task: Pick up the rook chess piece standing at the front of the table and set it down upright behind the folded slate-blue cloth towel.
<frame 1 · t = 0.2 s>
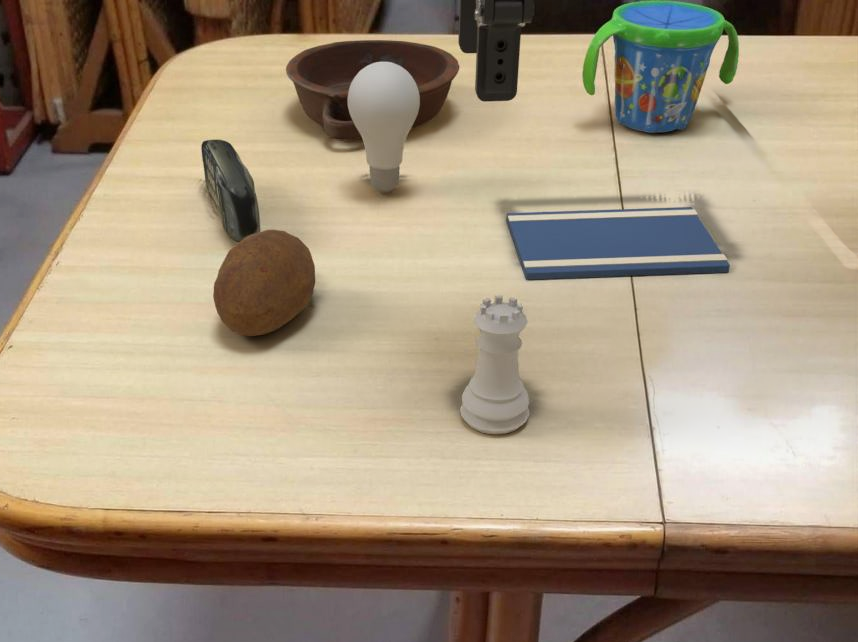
hand: (485, 73, 62), 19 cm above the table, tool pointing down, fingers open, 8 cm apart
lightbulb: (384, 194, 96), on the table
towel: (612, 244, 87), on the table
dish: (373, 115, 111), on the table
snack cup: (652, 124, 108), on the table
rook chess piece: (494, 420, 69), on the table
potato: (266, 321, 79), on the table
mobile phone: (236, 223, 91), on the table
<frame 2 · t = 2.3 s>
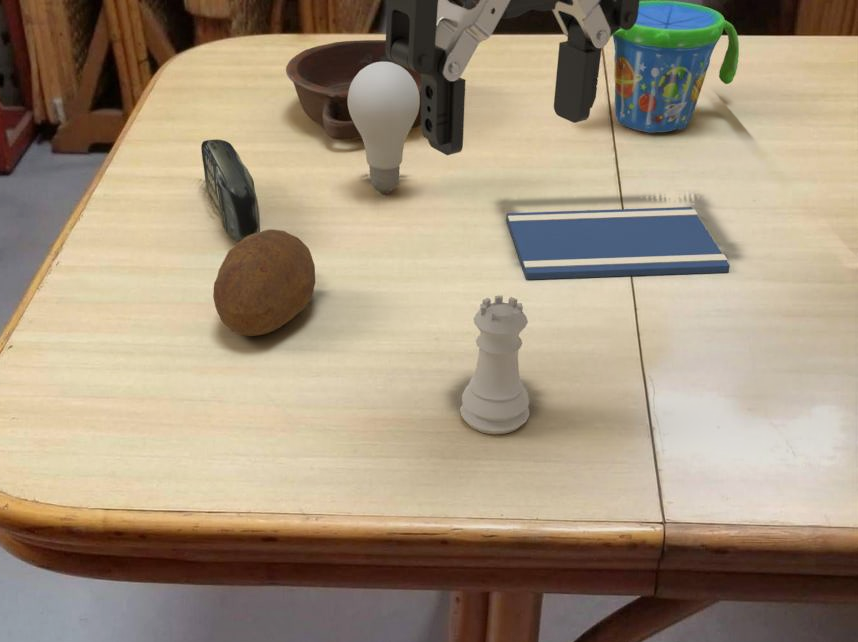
hand: (509, 133, 57), 18 cm above the table, tool pointing down, fingers open, 8 cm apart
nothing on the table moved.
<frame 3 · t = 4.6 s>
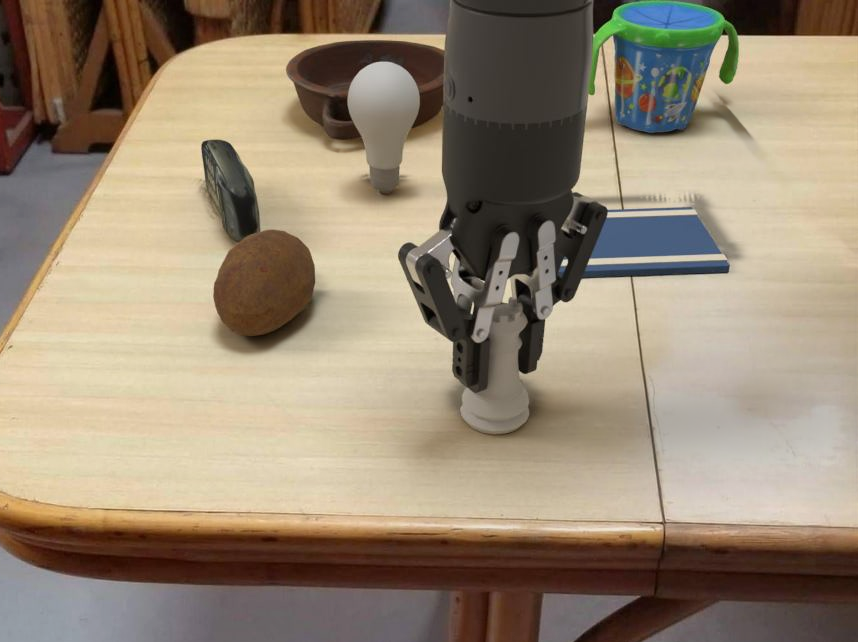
hand: (497, 375, 67), 3 cm above the table, tool pointing down, fingers closed on rook chess piece, 3 cm apart
rook chess piece: (494, 419, 69), on the table, touching gripper
everything else where it was.
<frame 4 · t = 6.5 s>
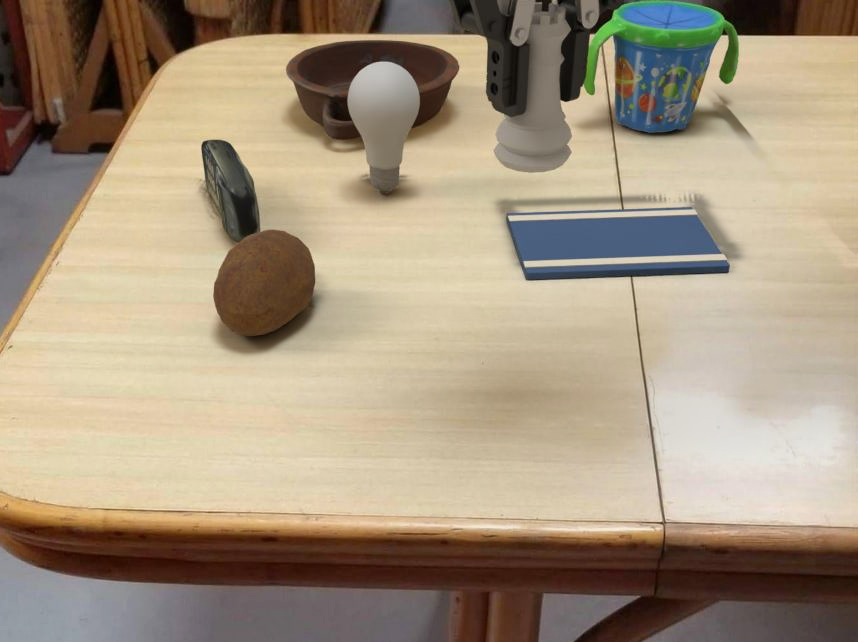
hand: (535, 103, 59), 19 cm above the table, tool pointing down, fingers closed on rook chess piece, 3 cm apart
rook chess piece: (531, 162, 62), point 15 cm above the table, touching gripper
everything else where it was.
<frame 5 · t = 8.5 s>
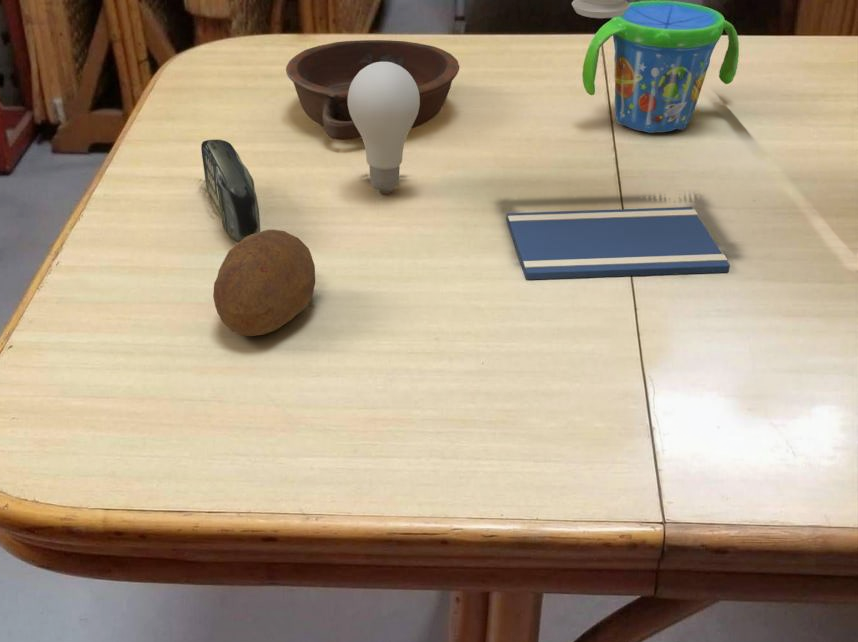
rook chess piece: (599, 13, 82), point 16 cm above the table, touching gripper
everything else where it was.
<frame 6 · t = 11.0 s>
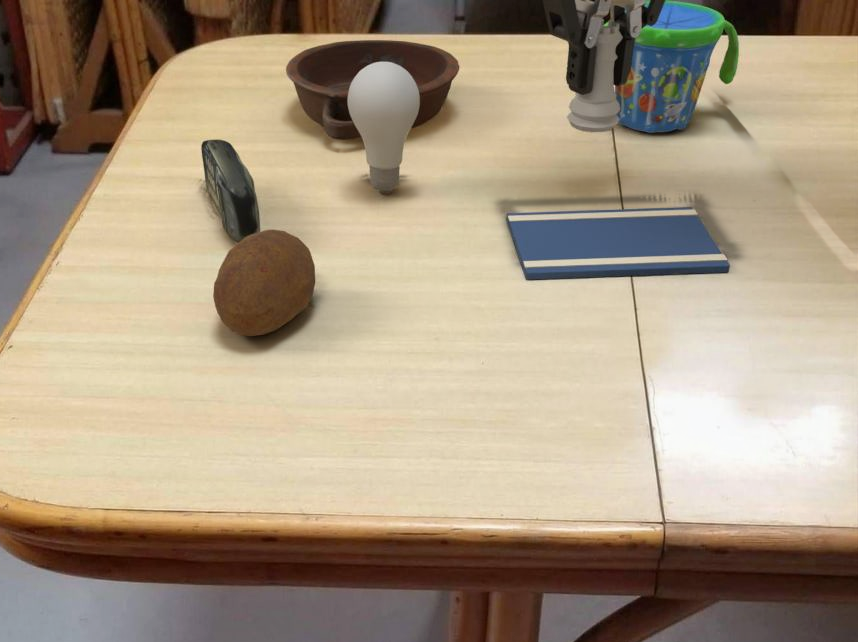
hand: (597, 86, 90), 9 cm above the table, tool pointing down, fingers closed on rook chess piece, 3 cm apart
rook chess piece: (592, 126, 92), point 6 cm above the table, touching gripper
everything else where it was.
when the fingers open (3 cm above the table, at t = 12.7 s): rook chess piece stays where it is, on the table.
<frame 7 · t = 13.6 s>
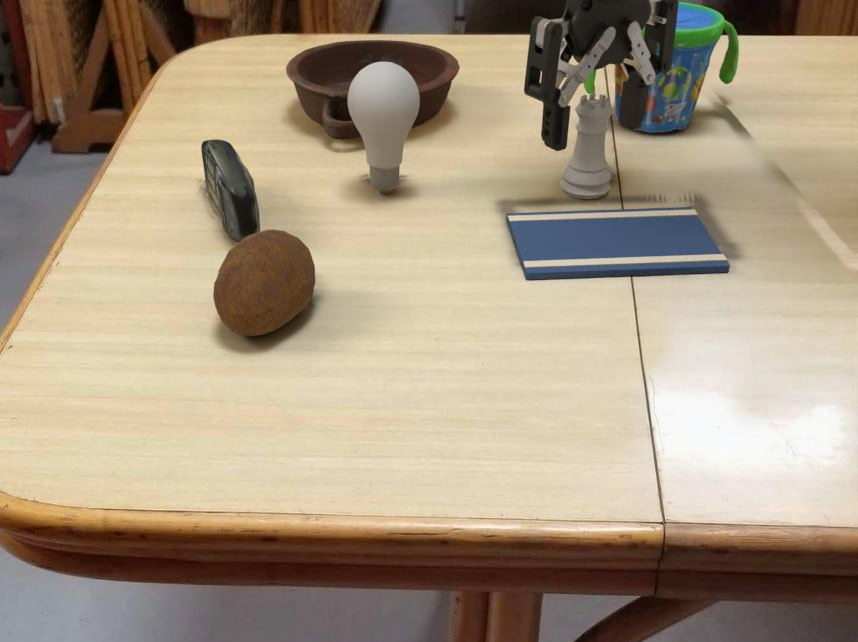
hand: (592, 137, 93), 5 cm above the table, tool pointing down, fingers open, 8 cm apart
rook chess piece: (584, 192, 96), on the table
everything else where it was.
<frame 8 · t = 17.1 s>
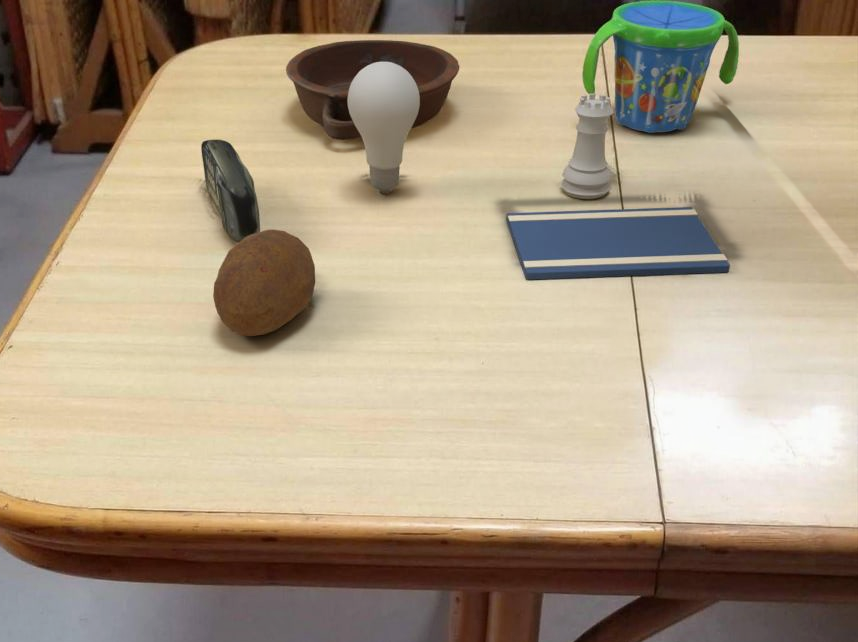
nothing on the table moved.
at the end: rook chess piece inside the target area on the table beside the towel (1.3 cm from its centre), on the table; rook chess piece tilted 0°; the gripper is holding nothing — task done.
